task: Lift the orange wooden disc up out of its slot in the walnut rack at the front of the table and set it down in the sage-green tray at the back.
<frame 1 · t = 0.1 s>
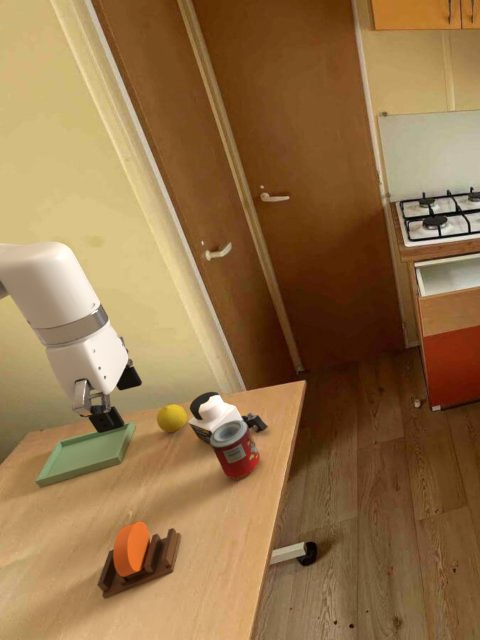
hand: (122, 406, 70), 33 cm above the table, tool pointing down, fingers open, 9 cm apart
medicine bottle: (223, 433, 104), on the table, touching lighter
lemon: (178, 430, 105), on the table
tray: (91, 454, 99), on the table
rack: (145, 565, 78), on the table
disc: (132, 548, 76), point 6 cm above the table, touching rack
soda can: (244, 468, 96), on the table
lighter: (254, 430, 105), on the table, touching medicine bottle
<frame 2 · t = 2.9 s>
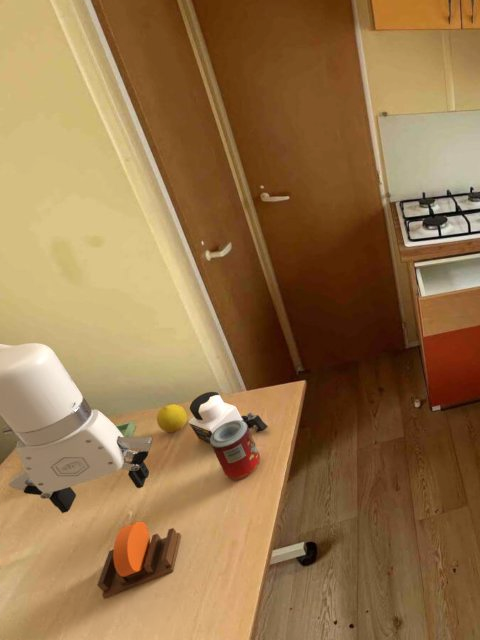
hand: (107, 492, 70), 20 cm above the table, tool pointing down, fingers open, 9 cm apart
nothing on the table moved.
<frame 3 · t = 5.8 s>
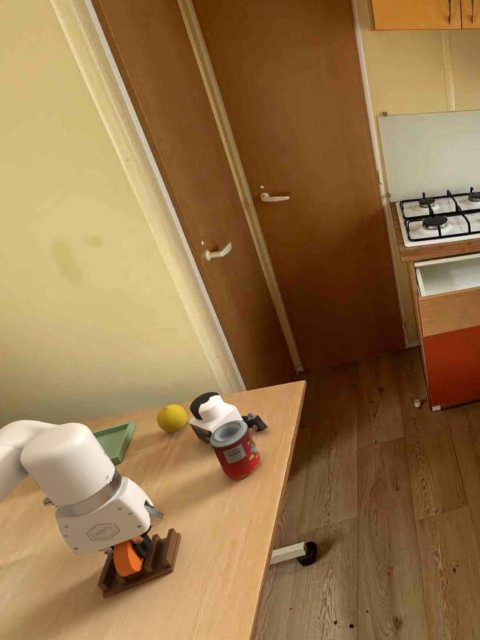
hand: (136, 553, 76), 4 cm above the table, tool pointing down, fingers closed on disc, 2 cm apart
disc: (132, 548, 76), point 6 cm above the table, touching gripper
everything else where it was.
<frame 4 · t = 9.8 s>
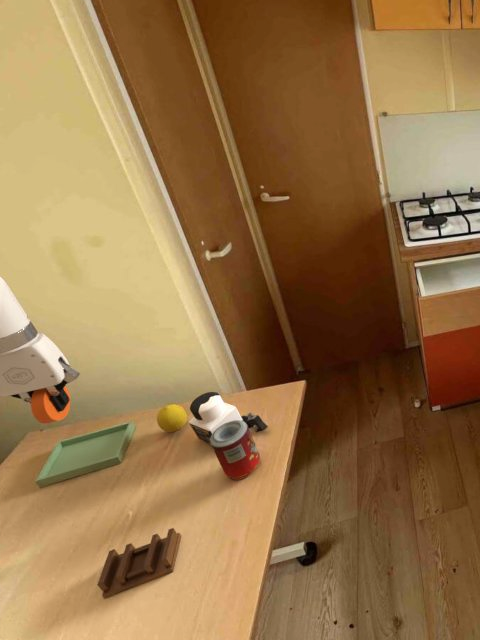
hand: (55, 407, 87), 19 cm above the table, tool pointing down, fingers closed on disc
disc: (51, 402, 86), point 21 cm above the table, touching gripper
everything else where it was.
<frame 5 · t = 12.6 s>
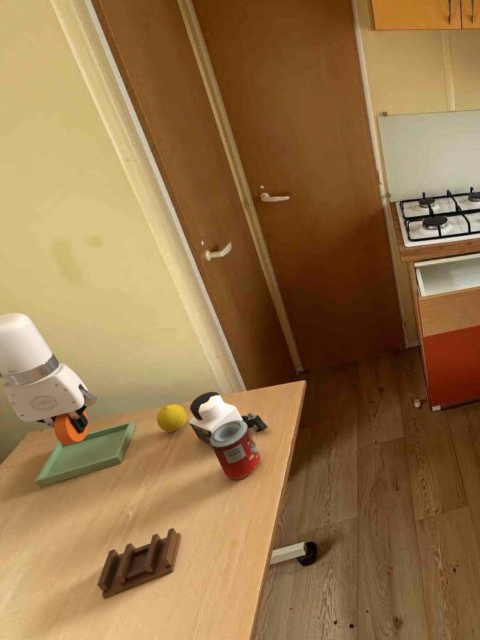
hand: (75, 430, 95), 8 cm above the table, tool pointing down, fingers closed on disc
disc: (72, 424, 94), point 10 cm above the table, touching gripper
everything else where it was.
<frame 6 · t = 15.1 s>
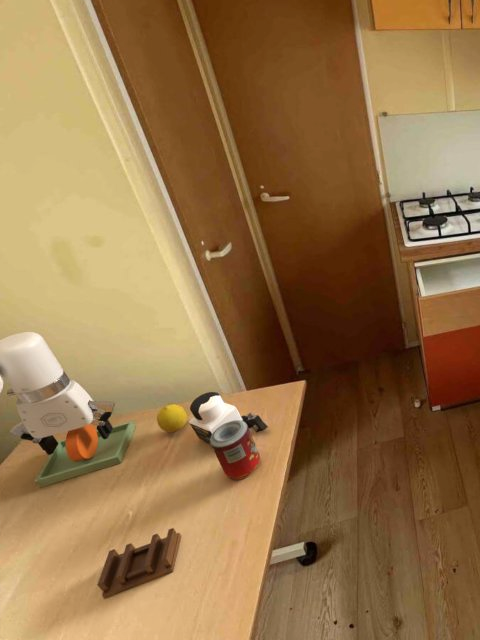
hand: (81, 441, 97), 5 cm above the table, tool pointing down, fingers open, 9 cm apart
disc: (82, 442, 97), point 5 cm above the table, touching tray
everything else where it was.
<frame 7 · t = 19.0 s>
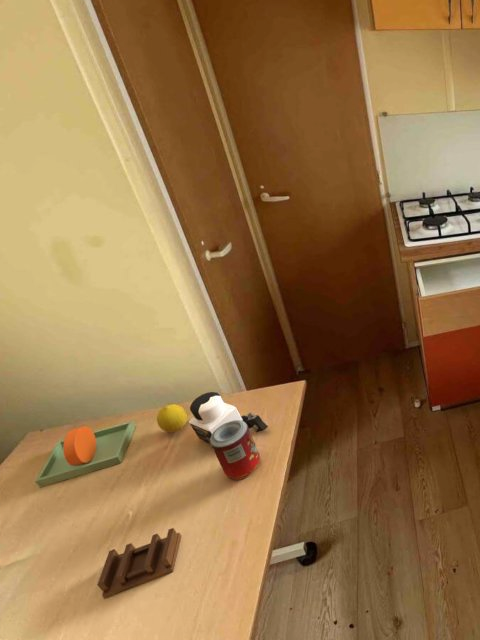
disc: (80, 445, 96), point 5 cm above the table, tilted 20°, touching tray
everything else where it was.
at the end: disc inside the target area on the tray (1.4 cm from its centre), point 4.6 cm above the tray's base; disc touching tray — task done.
